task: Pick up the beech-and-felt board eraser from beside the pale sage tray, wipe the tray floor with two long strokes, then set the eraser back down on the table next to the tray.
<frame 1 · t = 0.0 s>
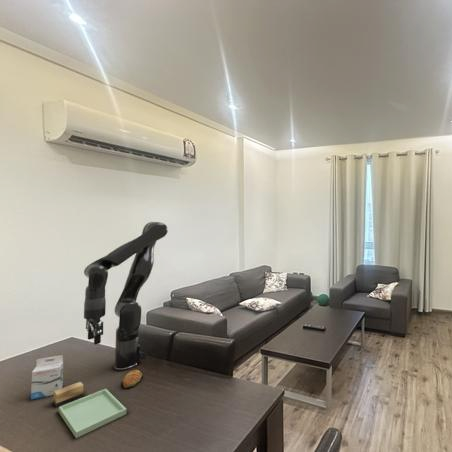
hand: (94, 341, 125), 17 cm above the table, tool pointing down, fingers open, 8 cm apart
pastry: (132, 382, 123), on the table
ink box: (47, 394, 113), on the table
tray: (92, 413, 103), on the table
eraser: (68, 399, 110), on the table
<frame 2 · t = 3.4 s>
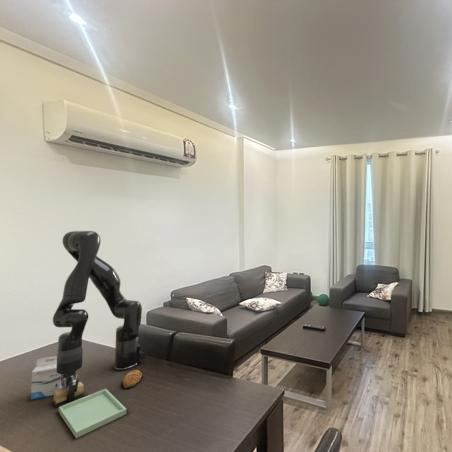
hand: (68, 399, 110), 0 cm above the table, tool pointing down, fingers closed on eraser, 4 cm apart
eraser: (68, 399, 110), on the table, touching gripper
everything else where it was.
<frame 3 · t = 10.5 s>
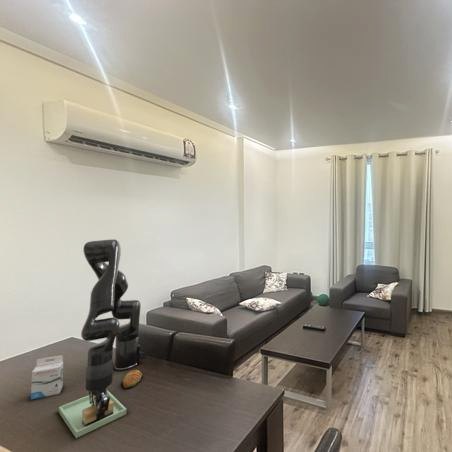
hand: (98, 418, 99), 1 cm above the table, tool pointing down, fingers closed on eraser, 4 cm apart
eraser: (97, 419, 99), point 1 cm above the table, touching gripper, tray
everything else where it was.
when the fingers open (0 cm above the table, at t = 21.9 s): eraser stays where it is, on the table.
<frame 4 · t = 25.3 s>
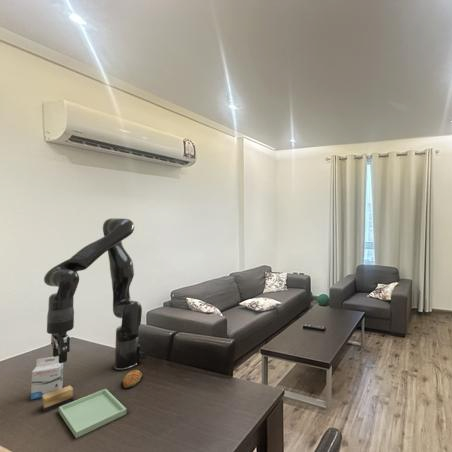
hand: (59, 359, 107), 18 cm above the table, tool pointing down, fingers open, 8 cm apart
eraser: (57, 404, 107), on the table
everything else where it was.
at the end: eraser inside the target area (0.2 cm from its centre), on the table; eraser tilted 0°; the gripper is holding nothing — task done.
